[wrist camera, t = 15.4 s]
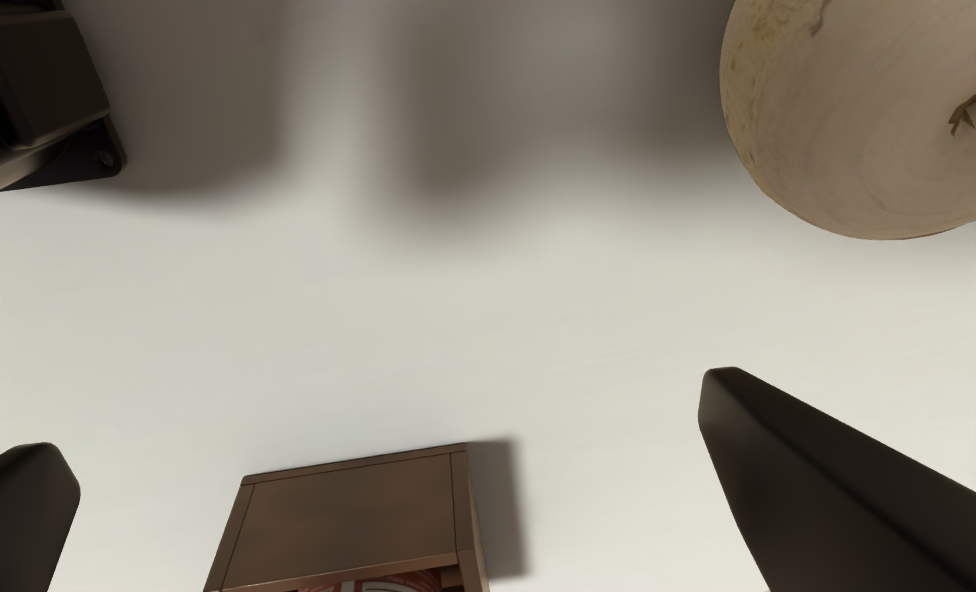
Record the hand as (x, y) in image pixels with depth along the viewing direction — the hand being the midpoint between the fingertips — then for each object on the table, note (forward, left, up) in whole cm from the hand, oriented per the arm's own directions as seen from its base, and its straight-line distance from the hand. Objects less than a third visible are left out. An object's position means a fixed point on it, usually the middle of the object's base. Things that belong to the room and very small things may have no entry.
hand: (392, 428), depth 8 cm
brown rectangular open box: (-5, -18, -13) cm, 22 cm away
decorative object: (+13, +2, -13) cm, 19 cm away
